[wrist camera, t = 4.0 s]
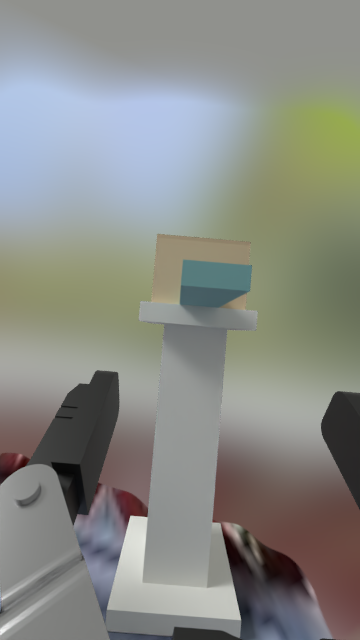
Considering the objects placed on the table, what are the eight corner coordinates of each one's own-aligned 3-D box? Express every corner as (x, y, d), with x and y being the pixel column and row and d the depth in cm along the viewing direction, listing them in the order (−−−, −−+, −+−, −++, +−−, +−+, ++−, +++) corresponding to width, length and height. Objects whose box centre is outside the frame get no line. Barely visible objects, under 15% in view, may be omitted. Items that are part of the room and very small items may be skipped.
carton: (301, 295, 16) (310, 170, 16) (128, 280, 15) (140, 155, 16) (227, 315, 39) (231, 264, 39) (158, 309, 38) (162, 258, 39)
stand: (239, 641, 26) (263, 311, 27) (104, 630, 26) (134, 300, 27) (219, 537, 39) (236, 316, 40) (129, 530, 39) (148, 309, 40)
